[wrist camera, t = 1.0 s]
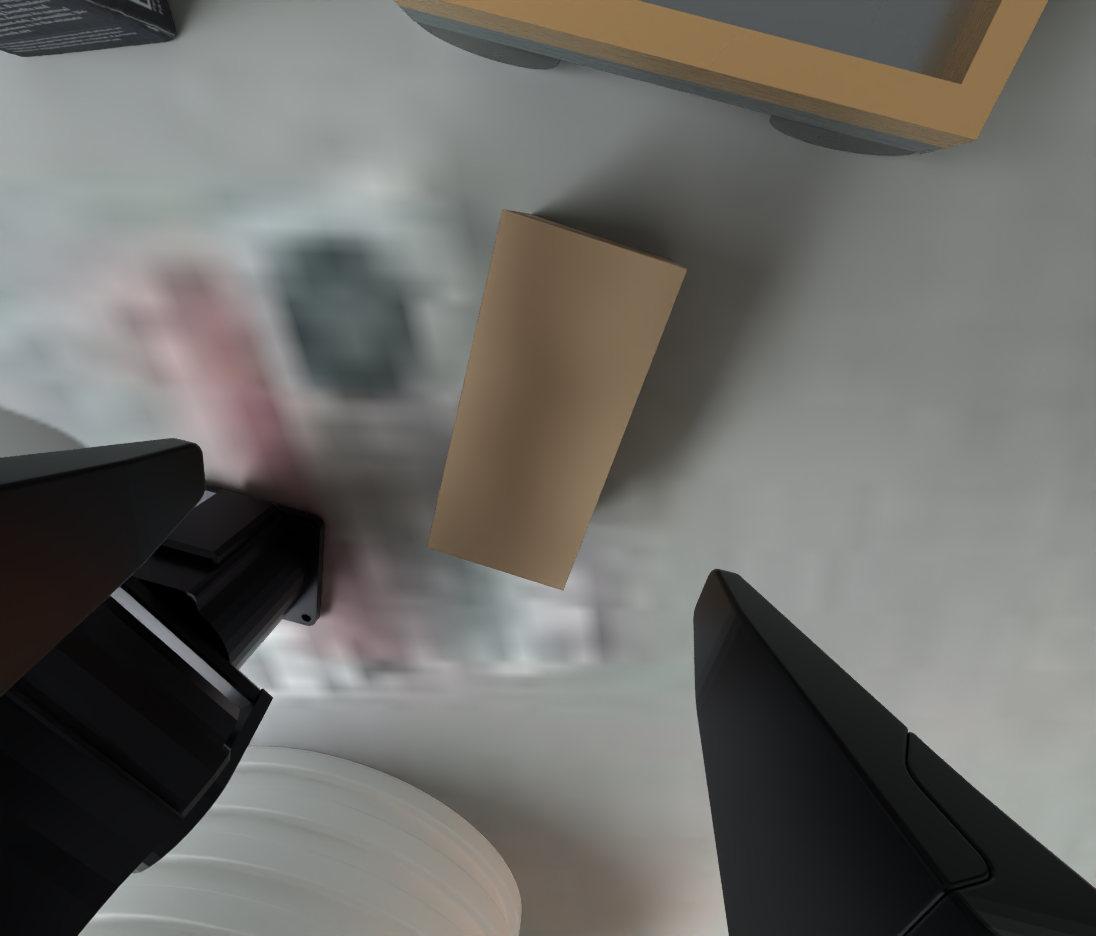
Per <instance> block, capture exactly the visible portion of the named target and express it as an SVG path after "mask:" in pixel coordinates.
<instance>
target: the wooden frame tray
mask: <svg viewBox="0 0 1096 936" xmlns="http://www.w3.org/2000/svg"><path fill="white" fill-rule="evenodd" d="M394 1H395V2H396V3H397V4H398V5H399V6H400V8H401V9H402V10H403V11H404V12H405V13H406V14H407V15H408V16H409V17H410V18H411V19H412V20H413V21H415V22H417V23H418V24H419V25H420V26H421V27H422V28H424V29H425V30H427V31H428V32H430V33H431V34H433V35H434V36H436V37H438V38H440V39H442V40H444V41H446V42H448V43H450V44H452V45H454V46H456V47H459V48H461V49H463V50H466V51H468V52H471V53H474V54H476V55H479V56H482V57H485V58H488V59H491V60H495V61H498V62H502V63H506V64H510V65H514V66H519V67H525V68H533V69H550V68H554V67H556V66H557V65H558V64H559V60H564V61H568V62H572V63H575V64H579V65H583V66H587V67H591V68H595V69H598V70H602V71H606V72H610V73H614V74H617V75H621V76H625V77H629V78H633V79H637V80H640V81H644V82H648V83H652V84H656V85H660V86H663V87H667V88H671V89H675V90H679V91H682V92H686V93H690V94H694V95H698V96H702V97H705V98H709V99H713V100H717V101H721V102H724V103H728V104H732V105H736V106H740V107H744V108H747V109H751V110H755V111H759V112H763V113H767V114H770V115H771V117H770V123H771V125H772V126H773V127H774V128H776V129H777V130H779V131H781V132H782V133H784V134H786V135H789V136H791V137H793V138H796V139H799V140H802V141H805V142H808V143H811V144H815V145H818V146H822V147H827V148H831V149H836V150H841V151H847V152H853V153H861V154H870V155H886V156H898V155H910V154H915V153H919V154H922V153H926V152H930V151H934V150H938V149H942V148H946V147H950V146H954V145H958V144H962V143H966V142H970V141H974V140H977V138H978V136H979V134H980V132H981V130H982V128H983V126H984V125H985V123H986V121H987V119H988V117H989V115H990V113H991V111H992V109H993V107H994V105H995V103H996V101H997V99H998V97H999V95H1000V93H1001V92H1002V90H1003V88H1004V86H1005V84H1006V82H1007V80H1008V78H1009V76H1010V74H1011V72H1012V70H1013V68H1014V66H1015V64H1016V62H1017V60H1018V59H1019V57H1020V55H1021V53H1022V51H1023V49H1024V47H1025V45H1026V43H1027V41H1028V39H1029V37H1030V35H1031V33H1032V31H1033V29H1034V27H1035V26H1036V24H1037V22H1038V20H1039V18H1040V16H1041V14H1042V12H1043V10H1044V8H1045V6H1046V4H1047V2H1048V0H394Z"/></svg>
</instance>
